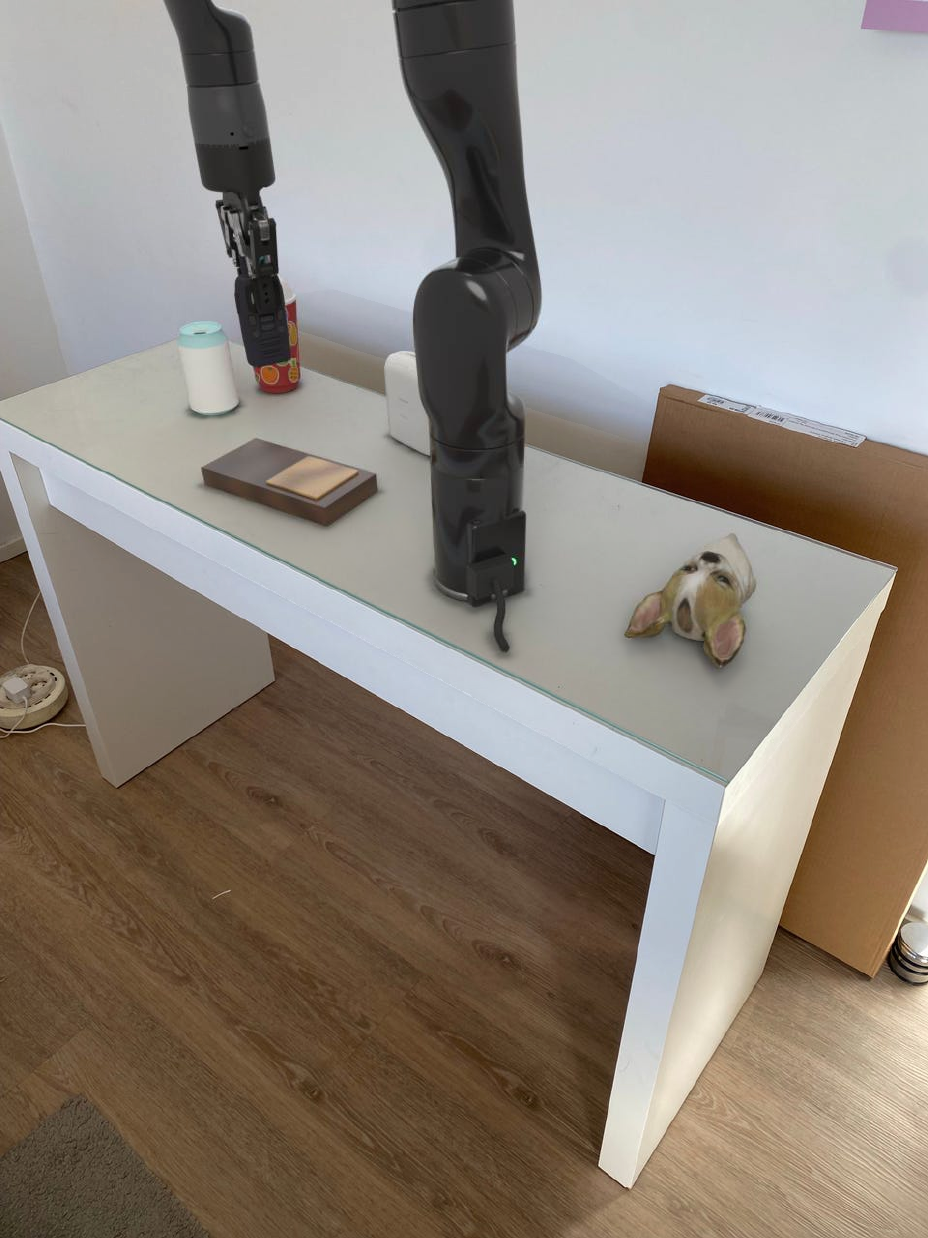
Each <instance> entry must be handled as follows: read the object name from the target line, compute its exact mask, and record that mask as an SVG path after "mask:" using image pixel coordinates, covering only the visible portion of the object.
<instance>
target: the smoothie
mask: <svg viewBox="0 0 928 1238" xmlns="http://www.w3.org/2000/svg"><path fill="white" fill-rule="evenodd" d="M261 259H264V258H263V256H261V257H260V260H261ZM277 275H278V277H279V279H280V283H281V285H282V288H283V293H284V299H285V310H286V317H287V324H288V331H289V342H290V350H291V358H290V360H288V361H287V362H281V363H277V364H273V365H268V366H263V367H260V368H258V367H253V366H252V368H253V373H254V377H255V382H256V383H257V384H259V386H260V389H261V390H262V391H264V392H266V393H270V394H283V393H288V392H291V391H293V390H295V389H296V388H297V387H298V385H299V380H301V363H300V362H301V361H300V347H299V346H300V345H299V332H298V331H299V329H298V327H299V326H298V312H297V311H298V310H297V300H296V299H297V295H296V293H295V291H293V289H292V287H291V286H290V284H289V283H288V281H287V280H286V279H285V278H284V277H282V275H279V273H278V274H277Z"/></svg>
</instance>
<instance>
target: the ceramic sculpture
mask: <svg viewBox="0 0 928 1238" xmlns="http://www.w3.org/2000/svg"><path fill="white" fill-rule="evenodd" d="M756 588H757V580H756V578H755V576H754V572H753V568H752V565H751V562H750V560H749V558H748V556H747V554H746V551H745V550H744V548H743V546H742V545H741V543H740V541H739V540H738V537H737V534H736V533H734V532H731V533H729V534H727V535H725V536H724V537H721V538H718V539H715V540H713V541H710V542H707V544H705V545H703V546H702V547H701V548H699V549H697V550H696V551H695V552H694V553H693V554H692V555H691V556H690V558H688V559H687V560H685V561H684V563H683V565H682V566H681V567H679V568H678V569H676V570H675V571H674V573H672V575H671V577H670V579H669V580H668V581H667V583H666V584H665V586H664V587H663V588H662V590H659V591H656V592H652V593H649V594H647V595H646V596H645V597H644V598H643V600H642V601H641V602H639V603H638V604H637V605H636V607H635V610H634V613H633V615H632V617H631V619H630V622H629V625H628V627H627V629H626V630H625V632H624V637H625V638H627V639H644V638H652V637H656V636H658V635H660V634H661V633H663V631H664V628H665V627H666V625H668V627H669V628H670V630H671V631H672V632H674V633H675V634H677V635H679V636H680V637H682V638H685V639H688V640H691V641H692V640H694V641H697V642H698V641H699V642H703V644H702V648H703V652H704V653H705V655H706V656H707V657H708V658H709V660H710V661H711V662H712V663H713V664H714V666H715V667H716V668H717V669H720V670H721V669H722V668H724V667H726V666H727V665H728V664H730V663H731V662H733V660H734V659H735V657H736V656H737V655H738V653H739V652H740V649H742V646H743V644H744V642H745V634H746V632H747V625H746V621H745V620H744V619H743V617H742V616H741V613H740V609H742V606H743V604H745V603H746V602H747V601H749V600H750V599H751V598H752V596H753V594H754V593H755V591H756Z"/></svg>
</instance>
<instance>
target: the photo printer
mask: <svg viewBox="0 0 928 1238" xmlns="http://www.w3.org/2000/svg"><path fill="white" fill-rule="evenodd" d="M384 362H385V363H384V367H383V368H384V369H383V375H384V385H385V386H384V389H385V400H386V412H387V413H386V414H387V425H388V432H389V435H390V436H391V437H392V438H393V439H395V440H397V441H398V442H400V443H402V444H404V445H405V446H408V447H409V448H411V449H413V450H415V451H417V452H419V453H421V454H422V455H426V456H429V457H430V440H429V420H428V416H427V414H426V412H425V410H424V408H423V405H422V403H421V399H420V395H419V389H418V379H417V368H416V358H415V351H410V350H409V351H408V350H401V351H396V352H393V353H390V354H388V356H387V358H386V360H385V361H384Z"/></svg>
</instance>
